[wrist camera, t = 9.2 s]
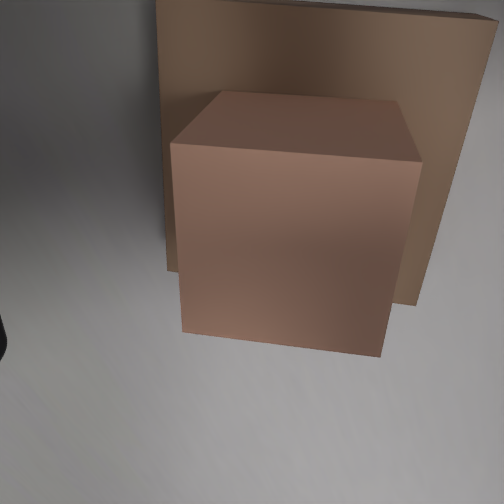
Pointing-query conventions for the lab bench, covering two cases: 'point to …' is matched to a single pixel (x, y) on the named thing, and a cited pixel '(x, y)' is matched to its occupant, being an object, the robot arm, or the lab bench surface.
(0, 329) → the robot arm
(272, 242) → the terracotta cube
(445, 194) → the walnut block
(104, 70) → the lab bench surface
